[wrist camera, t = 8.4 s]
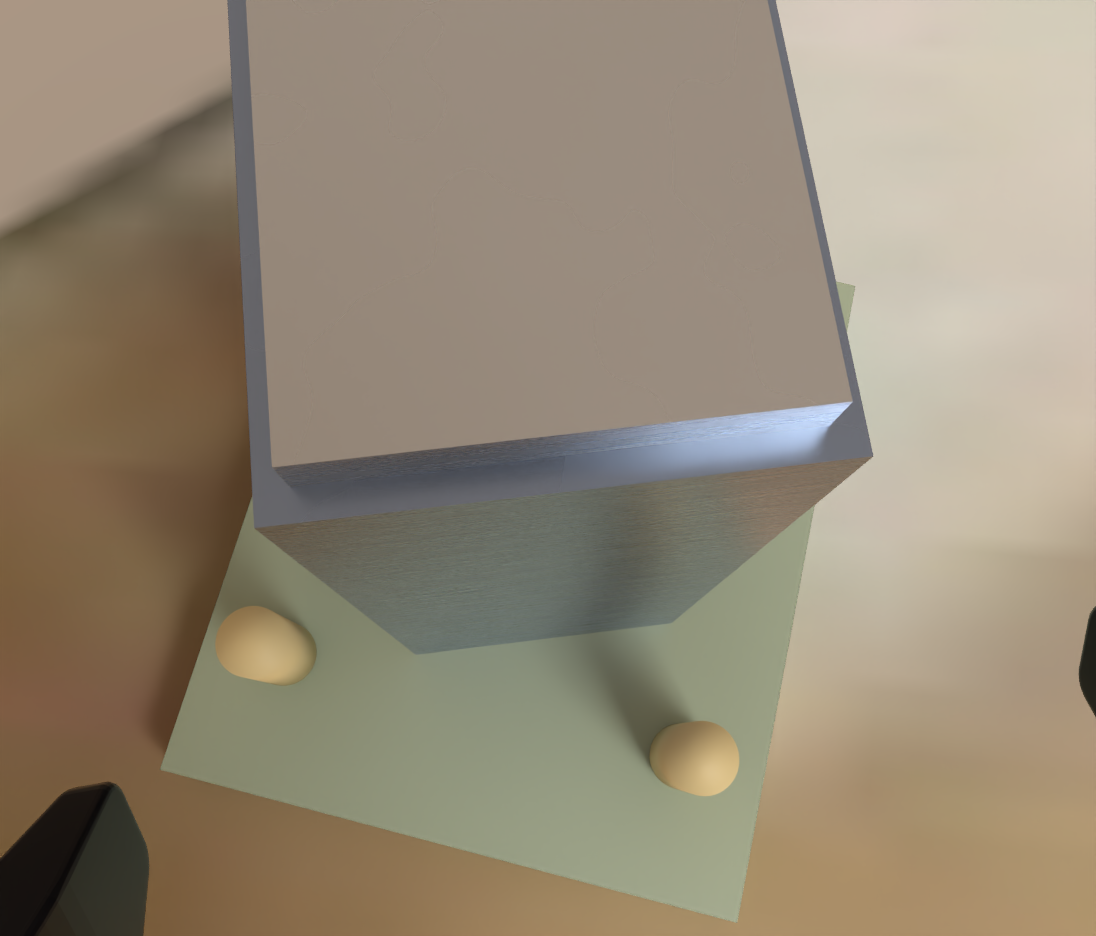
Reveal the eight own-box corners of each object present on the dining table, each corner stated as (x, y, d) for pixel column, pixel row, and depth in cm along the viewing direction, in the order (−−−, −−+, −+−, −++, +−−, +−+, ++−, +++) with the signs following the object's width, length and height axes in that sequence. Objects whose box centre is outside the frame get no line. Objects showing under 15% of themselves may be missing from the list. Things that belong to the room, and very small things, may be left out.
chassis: (726, 913, 19) (768, 950, 16) (177, 768, 20) (106, 773, 17) (841, 305, 23) (896, 229, 19) (369, 193, 23) (341, 100, 20)
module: (671, 623, 20) (898, 434, 8) (415, 654, 20) (233, 511, 7) (634, 383, 21) (779, -105, 9) (393, 409, 21) (207, -55, 9)
